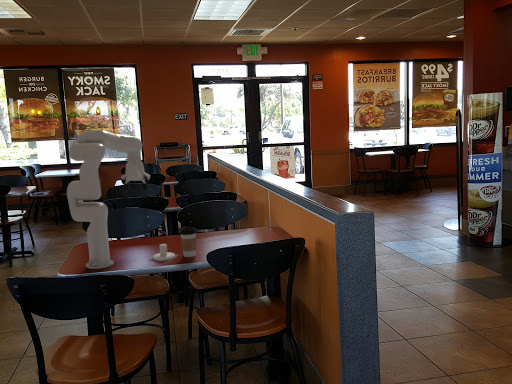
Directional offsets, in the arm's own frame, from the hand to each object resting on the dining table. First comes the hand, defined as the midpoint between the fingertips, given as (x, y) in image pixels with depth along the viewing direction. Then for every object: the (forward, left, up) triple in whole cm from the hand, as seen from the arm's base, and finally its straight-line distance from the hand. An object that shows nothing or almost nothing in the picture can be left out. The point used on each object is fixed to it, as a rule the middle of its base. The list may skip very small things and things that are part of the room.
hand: (136, 190), depth 271 cm
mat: (-31, -27, -31) cm, 51 cm away
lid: (-31, -27, -30) cm, 51 cm away
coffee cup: (-26, -39, -31) cm, 56 cm away
